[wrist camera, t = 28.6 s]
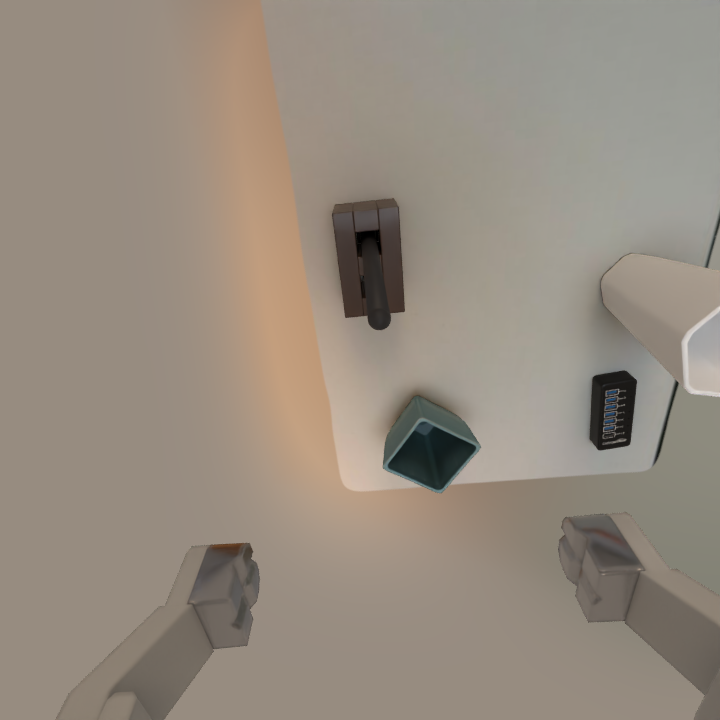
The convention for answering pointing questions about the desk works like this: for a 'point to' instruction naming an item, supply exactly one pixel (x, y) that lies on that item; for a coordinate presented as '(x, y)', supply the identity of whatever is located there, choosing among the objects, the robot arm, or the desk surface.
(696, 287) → the cup
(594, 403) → the multiport hub
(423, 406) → the flower pot
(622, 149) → the desk surface
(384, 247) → the pen stand
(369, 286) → the stylus
